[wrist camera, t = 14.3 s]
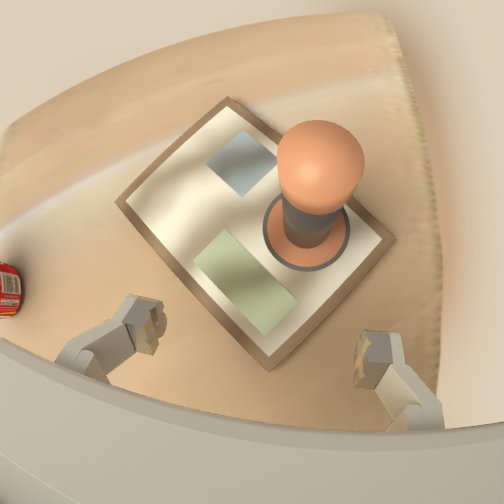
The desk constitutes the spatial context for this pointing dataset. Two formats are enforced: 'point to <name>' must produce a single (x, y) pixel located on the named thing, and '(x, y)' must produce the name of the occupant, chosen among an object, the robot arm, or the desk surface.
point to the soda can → (9, 291)
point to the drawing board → (246, 234)
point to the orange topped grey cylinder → (316, 178)
